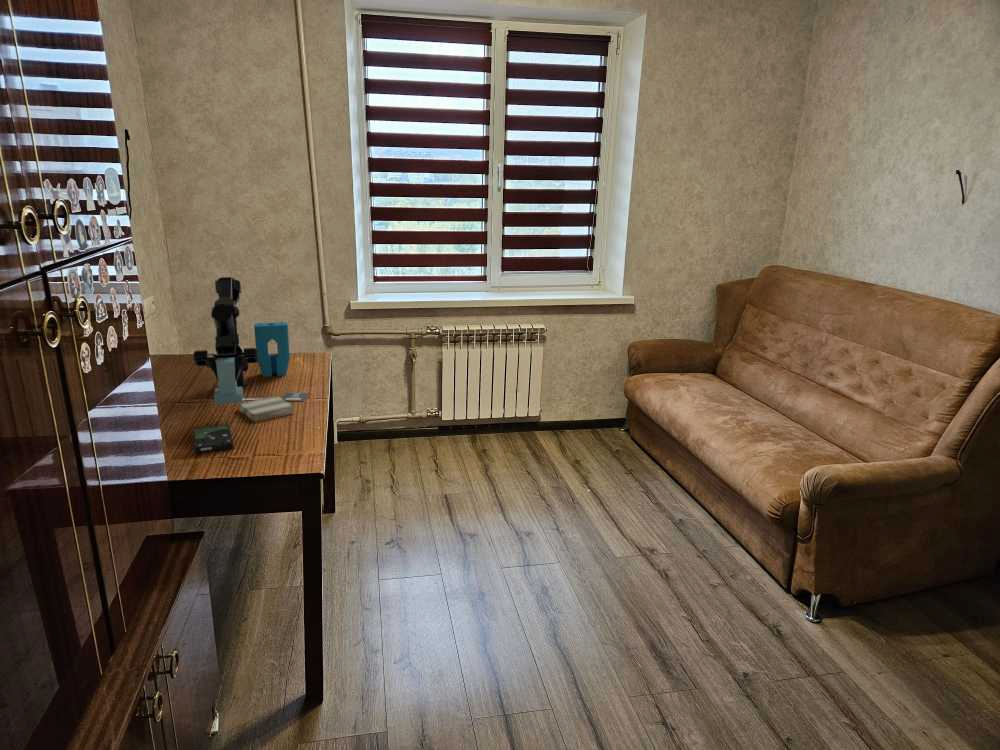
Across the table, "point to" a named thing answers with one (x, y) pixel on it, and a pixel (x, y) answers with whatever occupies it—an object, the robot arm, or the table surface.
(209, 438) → the disk drive
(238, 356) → the robot arm
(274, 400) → the cream base block
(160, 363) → the table surface
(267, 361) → the block
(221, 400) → the teal block
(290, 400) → the slate card
